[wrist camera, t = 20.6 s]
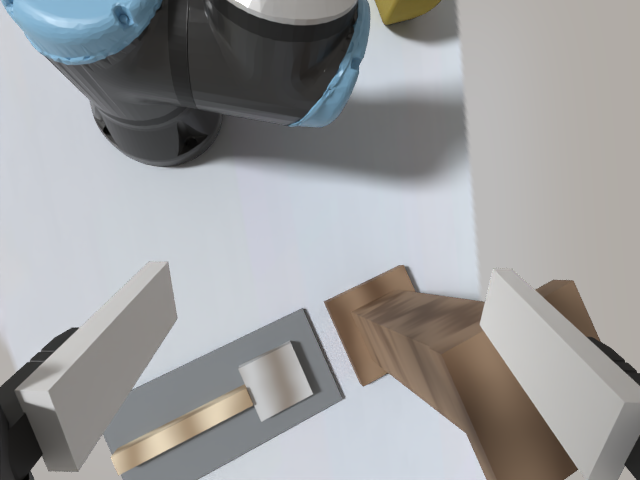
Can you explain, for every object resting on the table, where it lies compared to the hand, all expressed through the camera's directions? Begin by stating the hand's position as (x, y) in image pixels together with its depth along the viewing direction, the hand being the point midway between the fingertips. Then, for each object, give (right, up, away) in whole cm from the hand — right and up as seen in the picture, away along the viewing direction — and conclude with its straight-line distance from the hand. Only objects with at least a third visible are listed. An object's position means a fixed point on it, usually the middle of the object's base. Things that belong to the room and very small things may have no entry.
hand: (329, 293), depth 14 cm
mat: (-12, -18, +29) cm, 37 cm away
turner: (-13, -19, +29) cm, 37 cm away
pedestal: (+8, -9, +34) cm, 36 cm away
